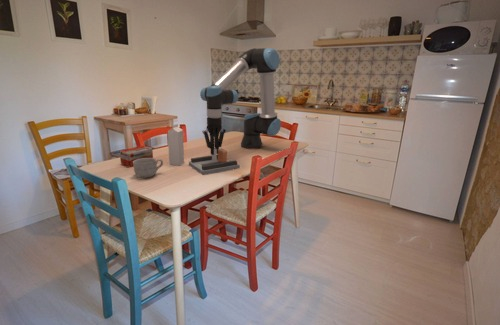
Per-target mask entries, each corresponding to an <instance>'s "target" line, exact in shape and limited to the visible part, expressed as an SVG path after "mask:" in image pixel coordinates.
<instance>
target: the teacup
mask: <svg viewBox="0 0 500 325" xmlns="http://www.w3.org/2000/svg"><path fill="white" fill-rule="evenodd" d="M158 162H160V164H159V165H158V166H157V164H158ZM133 165H134V167H133V172H134V174H135V175H136V176H138V177H139V178H145V179H146V178H151V177H153V176H154V175H155V174H157V171H158V170H159V169H160V168H161V167H162V166H163V165H164V161H163V160H162V159H161V158H157V159H156V158H154V157H153V158H142V159H137V160H134V161H133Z"/></svg>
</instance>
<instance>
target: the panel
mask: <svg viewBox="0 0 500 325" xmlns="http://www.w3.org/2000/svg"><path fill="white" fill-rule="evenodd" d="M228 161H232V160H231V159H230V158H228V157H227V162H228ZM215 163H221V162H219V161H218V159H217V161H214V160H208V161H202V162H195V163H192V162H191V160H190V161H188V166H190V167H191V168H192V169H194V170H195V171H197V173H198V174H200V175H202V176H204V175H211V174H217V173H221V172H223V173H224V172H227V171H234V170H238V169H237V168H240V167H241V165H240V164H239V163H237V165H233V166H227V167H221V168H215V169H209V170H202V166H203V165H209V164H215ZM233 169H234V170H233Z"/></svg>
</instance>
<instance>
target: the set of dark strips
mask: <svg viewBox="0 0 500 325" xmlns="http://www.w3.org/2000/svg"><path fill="white" fill-rule="evenodd" d="M217 159H218V154H217ZM208 160H212V155H211V154H210V155H206V156H199V157H191V158H190V161H191V162H192V163H195V162H202V161H208ZM237 164H238V161H237V160H231V161H228V162H221V163H215V164H209V165H203V166H202V170H209V169H215V168H221V167H227V166H233V165H237Z"/></svg>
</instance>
